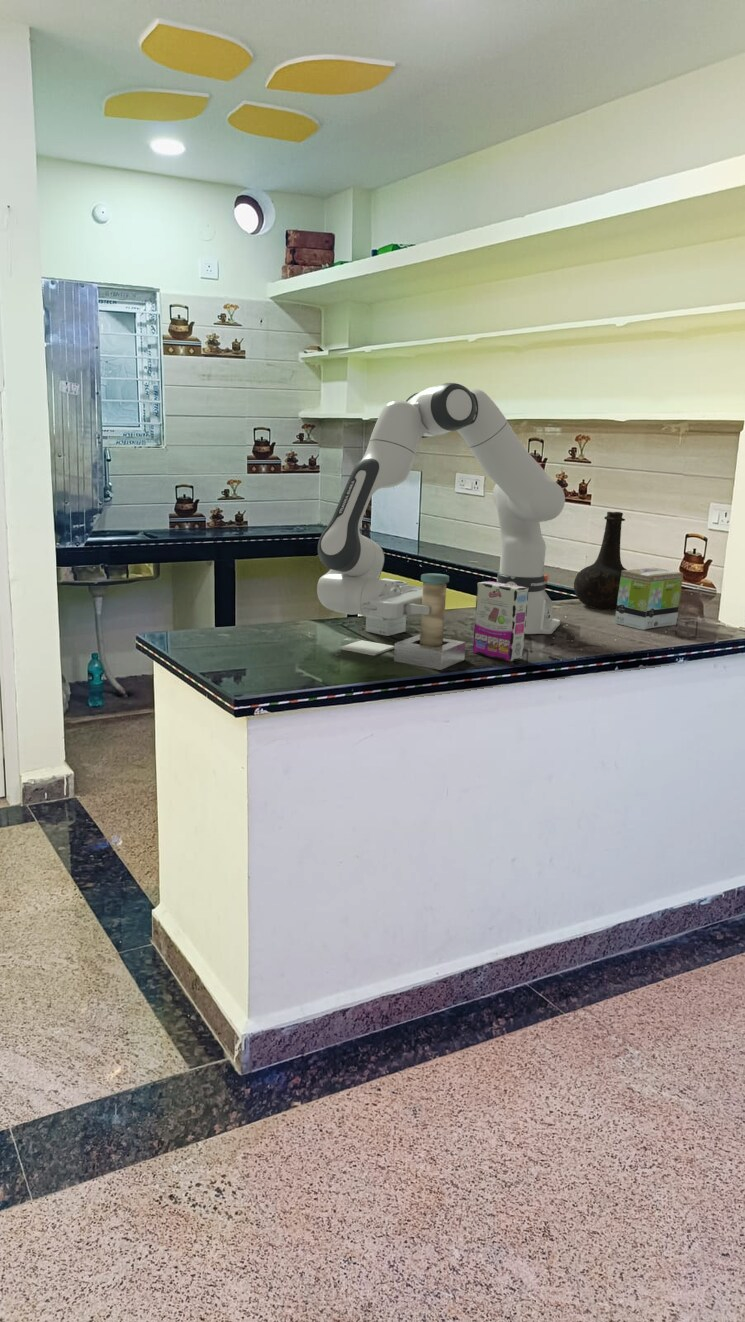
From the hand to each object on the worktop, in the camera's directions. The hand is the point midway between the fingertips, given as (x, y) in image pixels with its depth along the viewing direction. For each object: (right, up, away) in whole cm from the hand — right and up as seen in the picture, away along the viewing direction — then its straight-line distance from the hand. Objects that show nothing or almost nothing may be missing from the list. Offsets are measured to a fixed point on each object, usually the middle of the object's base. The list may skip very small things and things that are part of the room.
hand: (437, 608), depth 199 cm
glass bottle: (+54, +4, +73) cm, 91 cm away
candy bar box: (+14, -10, +10) cm, 20 cm away
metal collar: (-1, -11, +3) cm, 12 cm away
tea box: (+60, -2, +51) cm, 79 cm away
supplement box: (-11, -4, +29) cm, 32 cm away
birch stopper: (-1, -9, +3) cm, 9 cm away
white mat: (-15, -9, +11) cm, 21 cm away
